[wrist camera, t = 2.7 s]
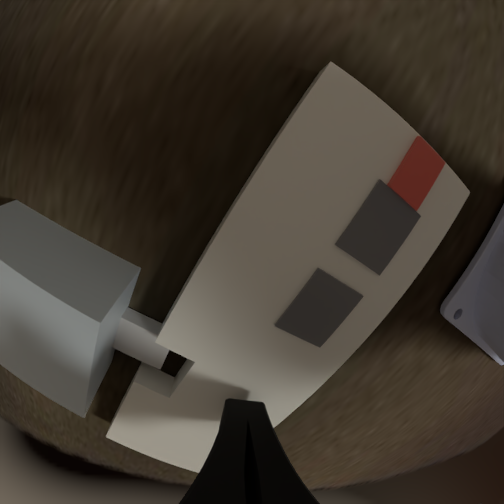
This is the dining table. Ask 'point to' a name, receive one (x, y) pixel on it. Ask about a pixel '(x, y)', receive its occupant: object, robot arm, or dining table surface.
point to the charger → (66, 309)
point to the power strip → (295, 269)
